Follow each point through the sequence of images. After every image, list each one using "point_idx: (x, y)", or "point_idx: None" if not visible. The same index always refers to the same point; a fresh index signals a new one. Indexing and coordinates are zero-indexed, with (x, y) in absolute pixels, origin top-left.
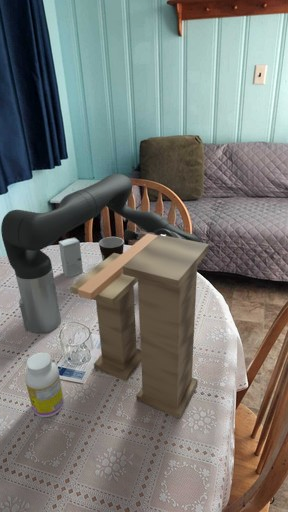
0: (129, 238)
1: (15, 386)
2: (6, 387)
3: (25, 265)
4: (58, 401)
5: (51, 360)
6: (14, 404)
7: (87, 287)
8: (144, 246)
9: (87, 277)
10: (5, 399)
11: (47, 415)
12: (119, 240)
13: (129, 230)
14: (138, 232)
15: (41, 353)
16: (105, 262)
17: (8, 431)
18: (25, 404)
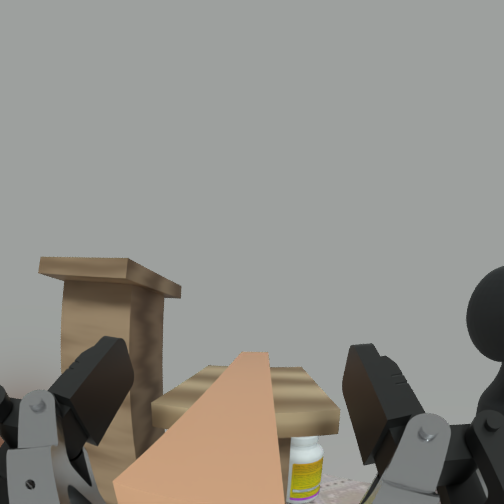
0: (352, 414)
1: (359, 488)
2: (366, 483)
3: (490, 385)
4: None
5: (293, 441)
6: (334, 482)
7: (256, 353)
8: (202, 401)
9: (296, 374)
10: (349, 480)
11: None
12: None
13: (358, 355)
14: (391, 463)
15: (311, 436)
16: (310, 390)
17: None
18: (324, 486)
